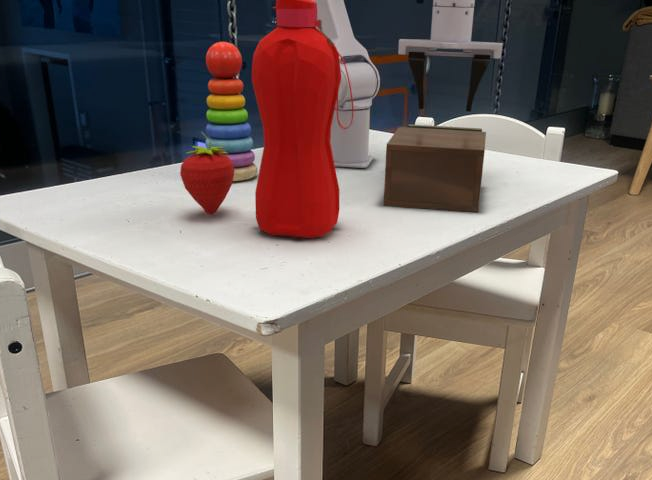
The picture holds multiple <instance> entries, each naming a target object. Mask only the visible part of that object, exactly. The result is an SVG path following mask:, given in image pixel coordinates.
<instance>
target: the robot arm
mask: <svg viewBox="0 0 652 480" xmlns="http://www.w3.org/2000/svg"><path fill="white" fill-rule="evenodd" d="M312 1H315V2H317V21H318V20H319V19H320V20H322V32H323V33H324V34H325V35H326V36H327V37H328V38H330V39H331V40H332V42H333V43H334V45H335V47H336V48H337V51H338V52H339V54H340V55H341V56H342V58H343V59H344V62H345V65H346V68H347V72H348V76H349V81H350V85H351V91H352V98H353V121H352V124H351V125H350V123H351V120H352V101H351V93H350V87H349V82H348V78H347V73H346V69H345V66H344V63H343V60H342V59H341V57H340V56H339V59H340V69H341V82H340V87H339V91H338V119H339V122H340V124H341V126H342V127H344V128H347V127H349V125H350V127H349V128H347V129H343V128H341V127H340V125H339V123H338V120H337V101H336V106H335V110H334V115H333V120H332V125H331V140H330V143H331V149H332V154H333V159H334V164H335V167H343V168H357V169H367V168H368V167H369V165H370V164H371V163H372V161H373V160H374V155H369V151H370V150H369V147H370V119H371V118H370V117H371V106H372V105H373V99H375V97H376V96H377V95H378V93H379V90H380V87H381V77H380V74H379V73H380V72H379V70H378V69H377V67H376V65H374V63H373V62H372V61H371V59H370V56H369V53H368V50H367V49H366V47H364V46H363V45H362V44H361V43H360V42H359V41H358V40H357V39H356V38H355V35H354V32H353V28H352V26H351V22H350V18H349V15H348V12H347V8H346V4H345V1H344V0H312ZM475 3H476V0H432V11H431V12H432V15H431V26H430V27H431V28H430V39H417V38H416V39H415V38H414V39H412V38H411V39H410V38H400V39H399V40H398V51H397V52H398V53H397V54H398V55H403V56H404V55H408V57H407V64H408V66H409V68H410V69H409V70H411V74H412V77H413V81H414V84H415V88H416V93H417V102H418V110H424V109H425V107H426V80H427V79H426V78H427V67H428V56H441V57H442V56H443V57H463V58H472V59H471V67H470V68H471V69H470V78H469V79H470V80H469V89H468V96H467V100H466V109H465V112H469V113H471V112H472V107H473V102H474V100H475V96H476V94H477V91H478V88H479V85H480V83H481V81H482V79H483V77H484V75H485V73H486V72H487V69H488V67H489V65H490V63H491V59H496V60H497V59H498V60H500V59H502V53H503V52H502V51H503V42H490V41H488V42H487V41H474V40H473V41H472V33H473V22H474V13H475V12H474V11H475ZM316 28H317V29H318V27H316ZM318 30H319V31H320V29H318ZM438 49H443V50H462V52H460V51H458V52H457V51H437V50H438Z"/></svg>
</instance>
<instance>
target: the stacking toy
mask: <svg viewBox="0 0 652 480" xmlns="http://www.w3.org/2000/svg"><path fill="white" fill-rule="evenodd" d="M205 65H206V67H207V70H208V72H209V73H210V74H211V75H212V76H213V78H211V79H210V80H209V81H208V83H207V89H208V91H209V92H210V93H211V94H209V95H208V96H207V97H206V105H207V106H208V107H209V108H208V109H207V111H206V115H205V116H206V119H207V121H208V122H207V124H206V127H205V132H206V134H207V135H208V136H207V138H208V139H209V140H210V142H211V143H210V142H209V140H208V139H207V138H206V139H205V148H209V143H210V148H211V147H224V148H223V149H219V150H223V151H225V152H227V153H229V154H223V155H226V156H228V157H229V158H230V159H231V161H232V162H233V166H234V170H235V171H234V176H233V181H232V182H241V181H248V180H250V179H253V178H254V177H255V176H256V175H257V174H258V167H257V165H256V163H254V162H255V159H256V155H255V153H254V151H253V150H252V148H253V147H254V140H253V138H252V137H251V136H250V134H251V133H252V127H251V124H250V123H248V122H247V120H248V118H249V113H248V111H247V109H245V108H244V106H245V105H246V98H245V96H244V95H243V94H241V93H242V92H243V91H244V83H243V81H242V80H241V79H239V78H237V76H238V75H239V74H240V72H241V69H242V67H243V58H242V54H241V52H240V50H239V49H238V47H236V45H234V44H233V43H230V42H228V41H219V42H216V43H213V44H212V45H210V47H209V48H208V49H207V52H206V55H205ZM210 148H209V149H210Z"/></svg>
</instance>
